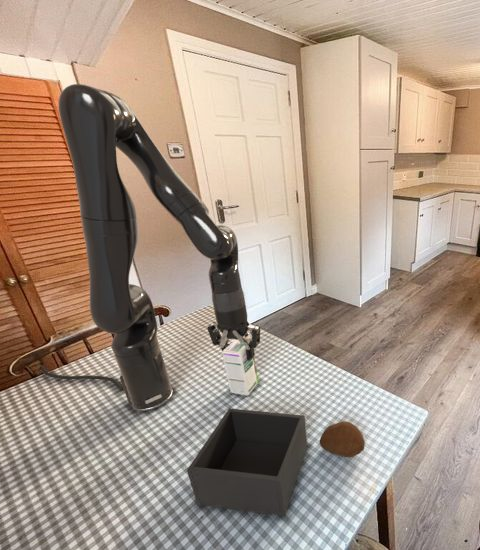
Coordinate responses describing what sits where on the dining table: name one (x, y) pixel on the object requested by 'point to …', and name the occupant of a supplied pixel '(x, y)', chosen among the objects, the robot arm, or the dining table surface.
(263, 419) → the basket
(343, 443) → the potato
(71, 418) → the dining table surface
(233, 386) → the syrup box
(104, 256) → the robot arm
